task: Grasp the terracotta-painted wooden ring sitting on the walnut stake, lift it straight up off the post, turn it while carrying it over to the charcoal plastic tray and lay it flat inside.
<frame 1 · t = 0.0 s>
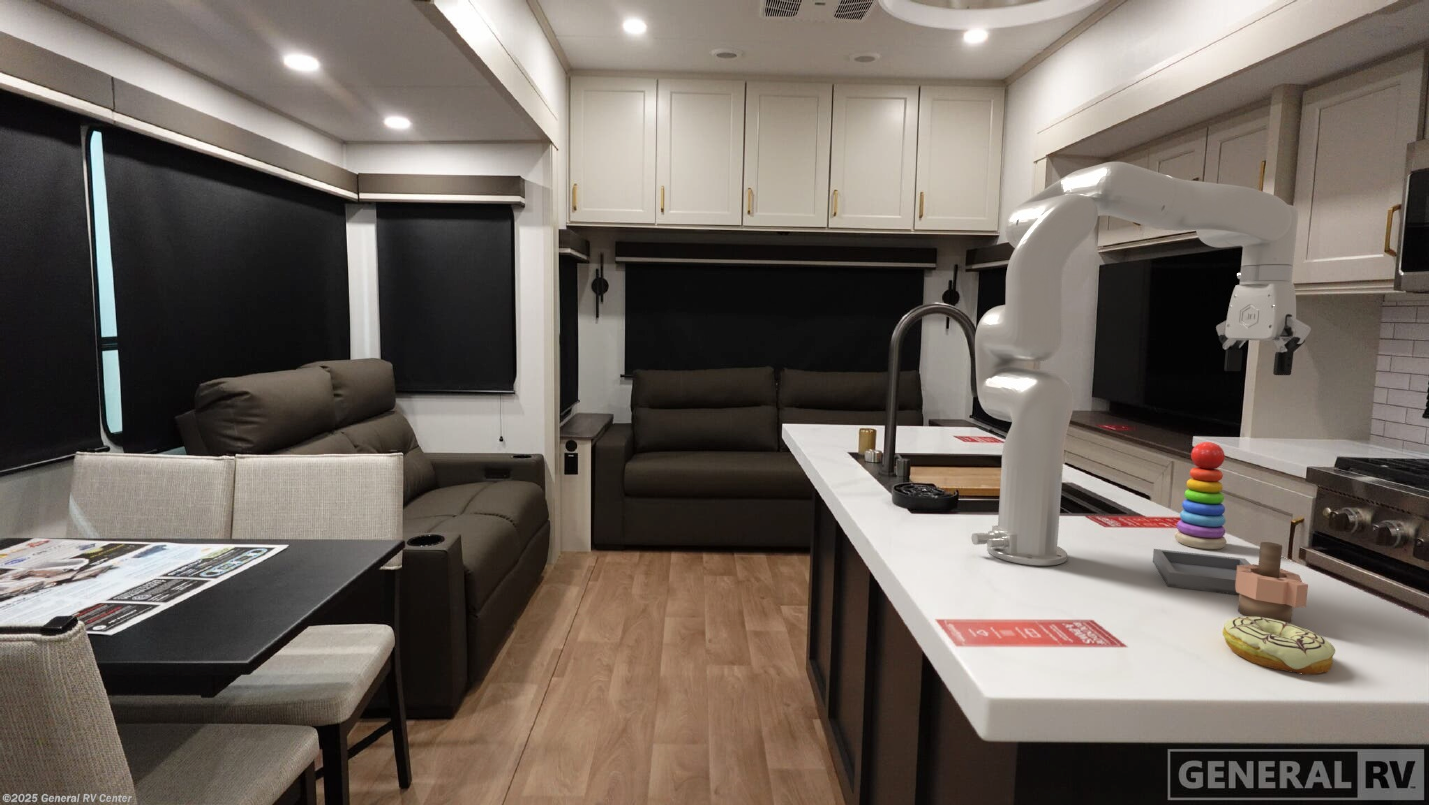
hand: (1256, 373, 137), 31 cm above the kitchen island, tool pointing down, fingers open, 9 cm apart
decorated donut: (1275, 660, 92), on the kitchen island
stake: (1264, 615, 105), on the kitchen island
ring: (1266, 594, 105), point 3 cm above the kitchen island, touching stake
stacking toy: (1199, 545, 139), on the kitchen island
tray: (1207, 578, 120), on the kitchen island
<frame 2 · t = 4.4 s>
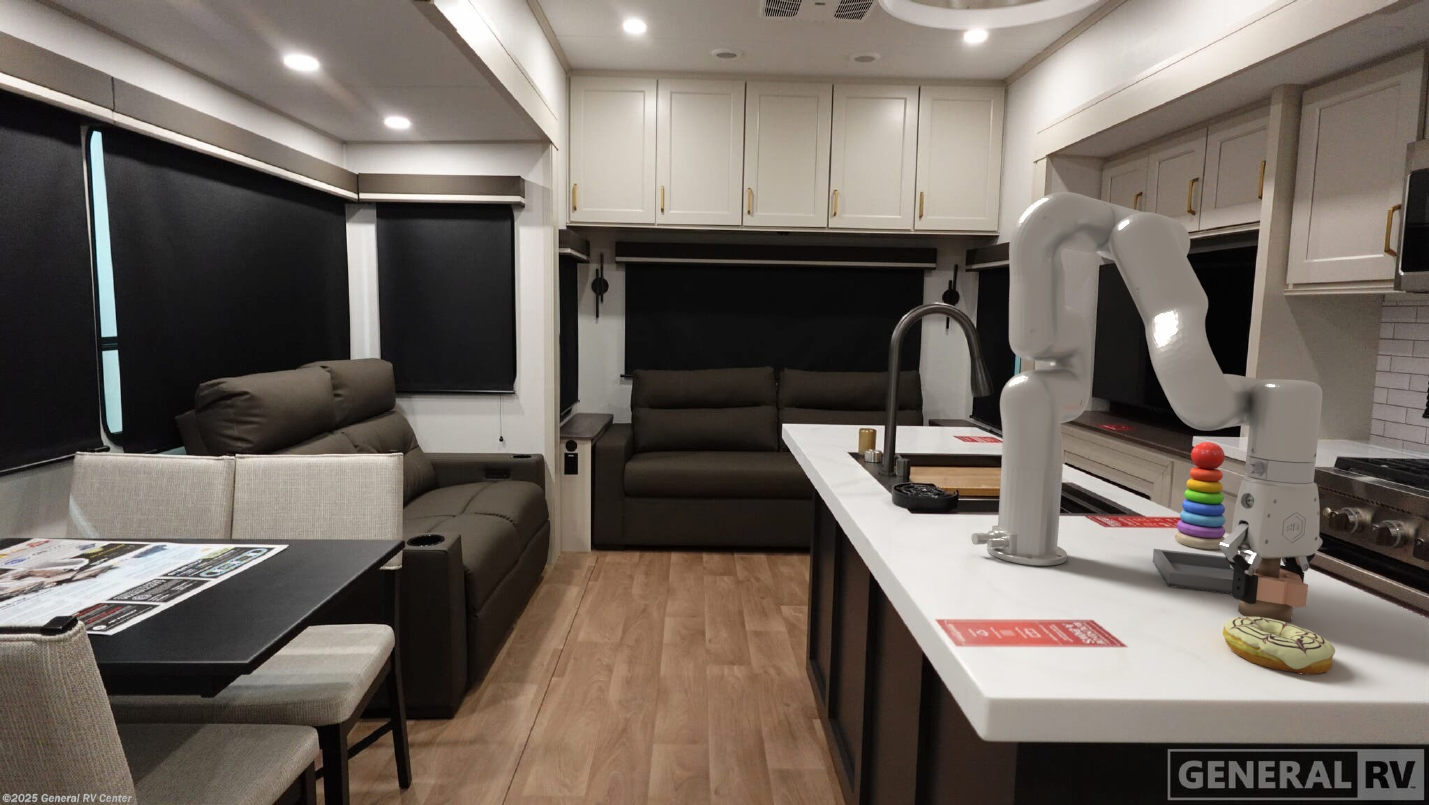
hand: (1266, 597, 105), 3 cm above the kitchen island, tool pointing down, fingers closed on ring, 7 cm apart
ring: (1266, 594, 105), point 3 cm above the kitchen island, touching gripper, stake
everything else where it was.
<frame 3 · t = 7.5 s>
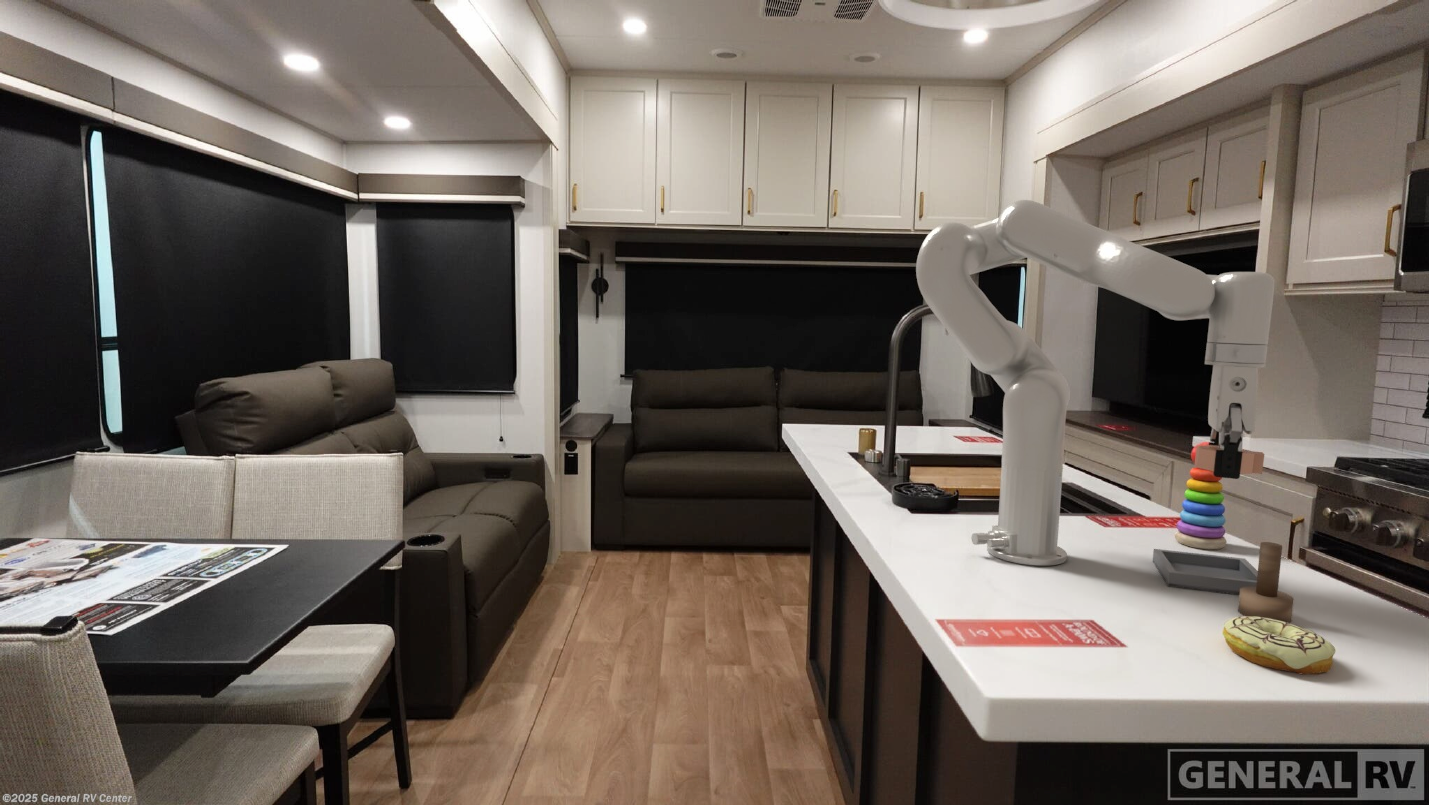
hand: (1222, 472, 116), 17 cm above the kitchen island, tool pointing down, fingers closed on ring, 7 cm apart
ring: (1222, 468, 116), point 18 cm above the kitchen island, touching gripper
everything else where it was.
when the fingers open (3 cm above the kitchen island, at t = 11.1 s): ring drops 3 cm, resting on tray.
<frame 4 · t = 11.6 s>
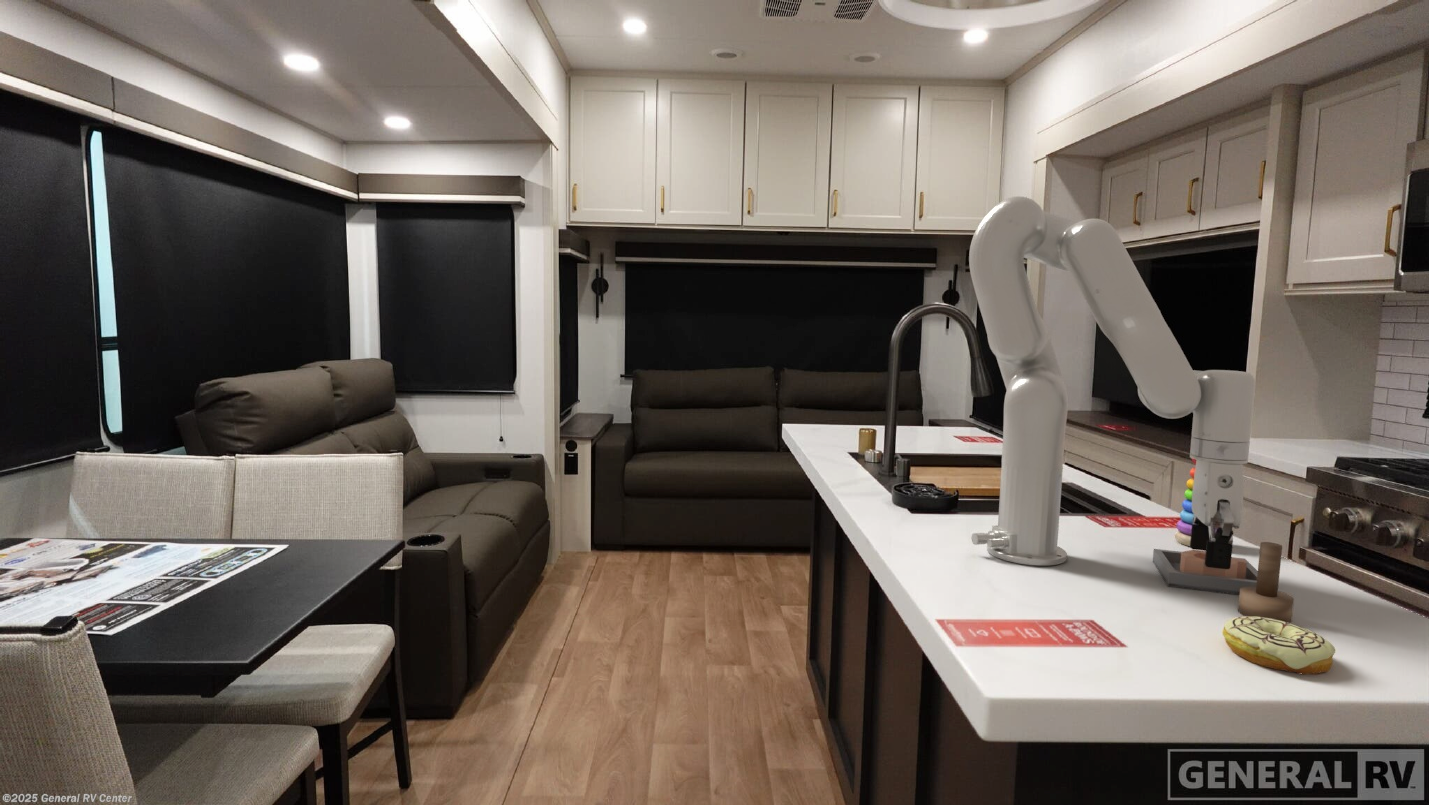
hand: (1209, 558, 120), 3 cm above the kitchen island, tool pointing down, fingers open, 9 cm apart
ring: (1207, 575, 120), resting on tray
everything else where it was.
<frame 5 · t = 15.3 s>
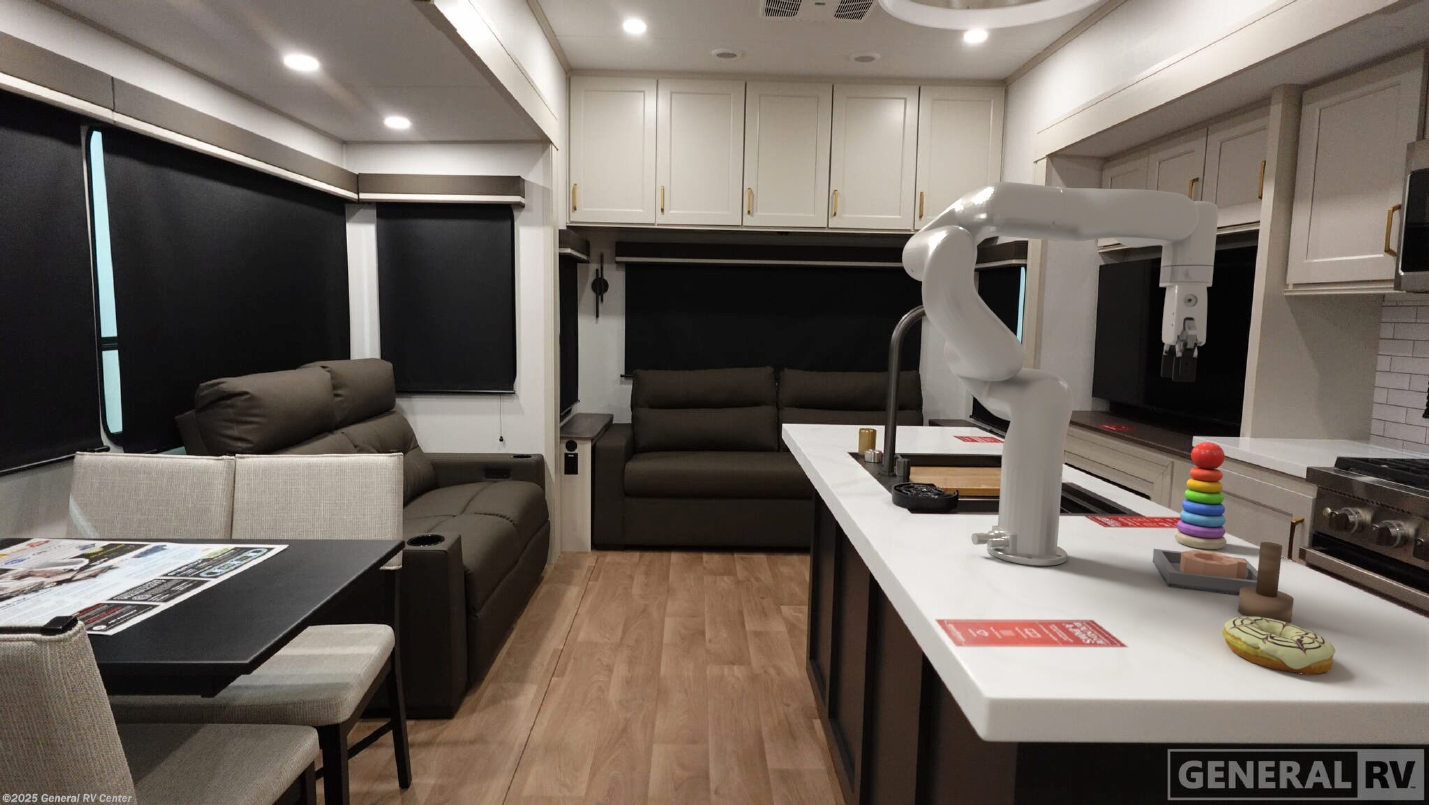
hand: (1177, 379, 130), 30 cm above the kitchen island, tool pointing down, fingers open, 9 cm apart
nothing on the kitchen island moved.
at the end: ring 0.0 cm from the tray (horizontally); ring point 0.5 cm above the kitchen island; ring tilted 0° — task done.
